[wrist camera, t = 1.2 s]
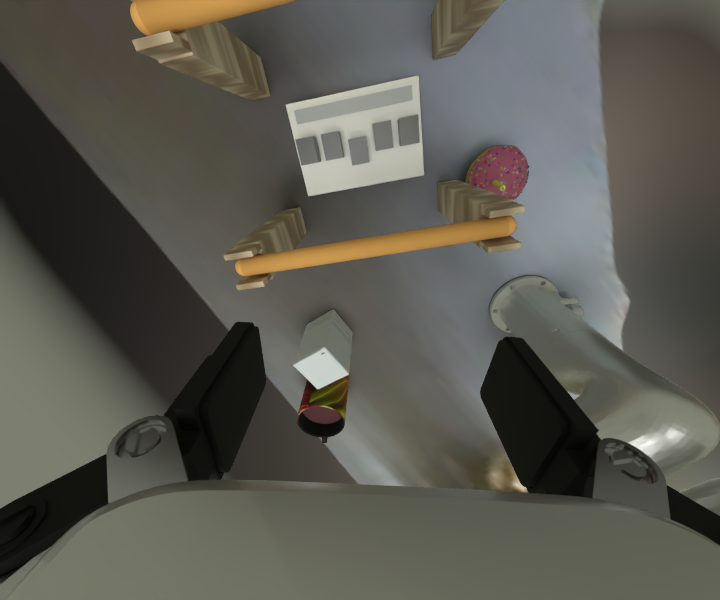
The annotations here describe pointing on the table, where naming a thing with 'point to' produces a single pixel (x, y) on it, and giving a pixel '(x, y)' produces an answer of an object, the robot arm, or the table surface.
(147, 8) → the orange rounded rod
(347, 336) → the supplement box
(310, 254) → the orange cylindrical bar
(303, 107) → the breaker panel
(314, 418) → the mug
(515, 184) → the cupcake
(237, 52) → the wooden post rack
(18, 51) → the table surface
